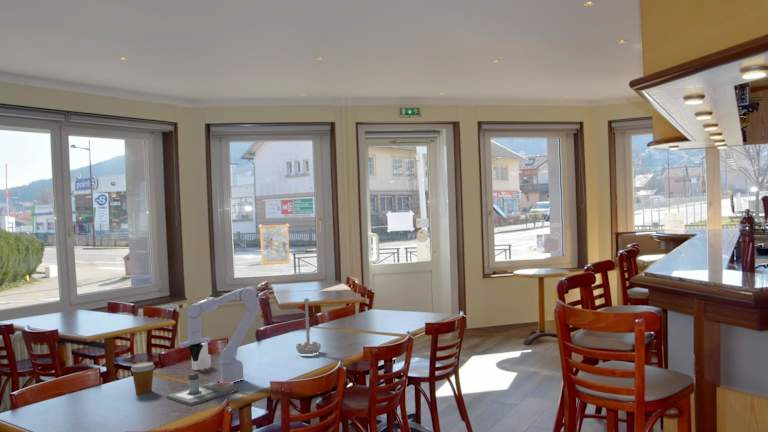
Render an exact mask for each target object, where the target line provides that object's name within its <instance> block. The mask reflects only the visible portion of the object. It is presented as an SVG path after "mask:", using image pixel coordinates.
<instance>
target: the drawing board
mask: <svg viewBox="0 0 768 432" xmlns="http://www.w3.org/2000/svg"><path fill="white" fill-rule="evenodd" d="M224 382H226V381H224ZM217 383H218V382H214V381H211V382H208V383H205V384H201V385H200V384H199V393H198V394H189V388H187V389H183V390H181V391H176V392H173V393H169V394H167V395H166V398H167V399H168V400H172V401H174V400H175V402H178V403H181V404H185V405H187V406H190V407H191V406H195V405H197V403H198V404H201V403H204V402H207V401H206V400H208V401H210V400H209V399H211V400H213V399H212V398H214V399H216V398H215V397H217V398H220V397H223V396H222V395H224V396H226V395H225V394H227V393H230V392H232V391H235V390H237V389H238V388H236V387H235V383H230V382H228V383H230V384H229V385H225V386H222V387H221V386H217V385H216V384H217ZM237 391H238V390H237ZM230 394H231V393H230ZM227 395H228V394H227ZM219 396H220V397H219ZM203 401H204V402H203ZM200 402H201V403H200Z"/></svg>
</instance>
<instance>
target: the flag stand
mask: <svg viewBox="0 0 768 432" xmlns="http://www.w3.org/2000/svg"><path fill="white" fill-rule="evenodd" d="M303 303H304V304H301V305H299V306H298V307H297V309H298V310H301V311H302V312H304V313H305V328H306V329H305V331H306V341H304V342H303V344H302V343H301V342H300V343H299V342H298V343H297V344H295V349H296V351H297V352H298V353H300V354H313V353H317V352H319V353H320V350H321V349H322V347H321V346H322V343H321V342H318V341H312V343H310V341H311V340H310V321H309V319H310V318H309V303H310V299H309V298H308V297H305V298H304V299H303ZM298 353H297V354H298Z"/></svg>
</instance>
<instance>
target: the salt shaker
mask: <svg viewBox="0 0 768 432" xmlns="http://www.w3.org/2000/svg"><path fill="white" fill-rule="evenodd" d="M199 373H200V372H190V373H188V376H187V379H188V389H189V394H198V393H199V386H200V379H199V378H200V376H199Z"/></svg>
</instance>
